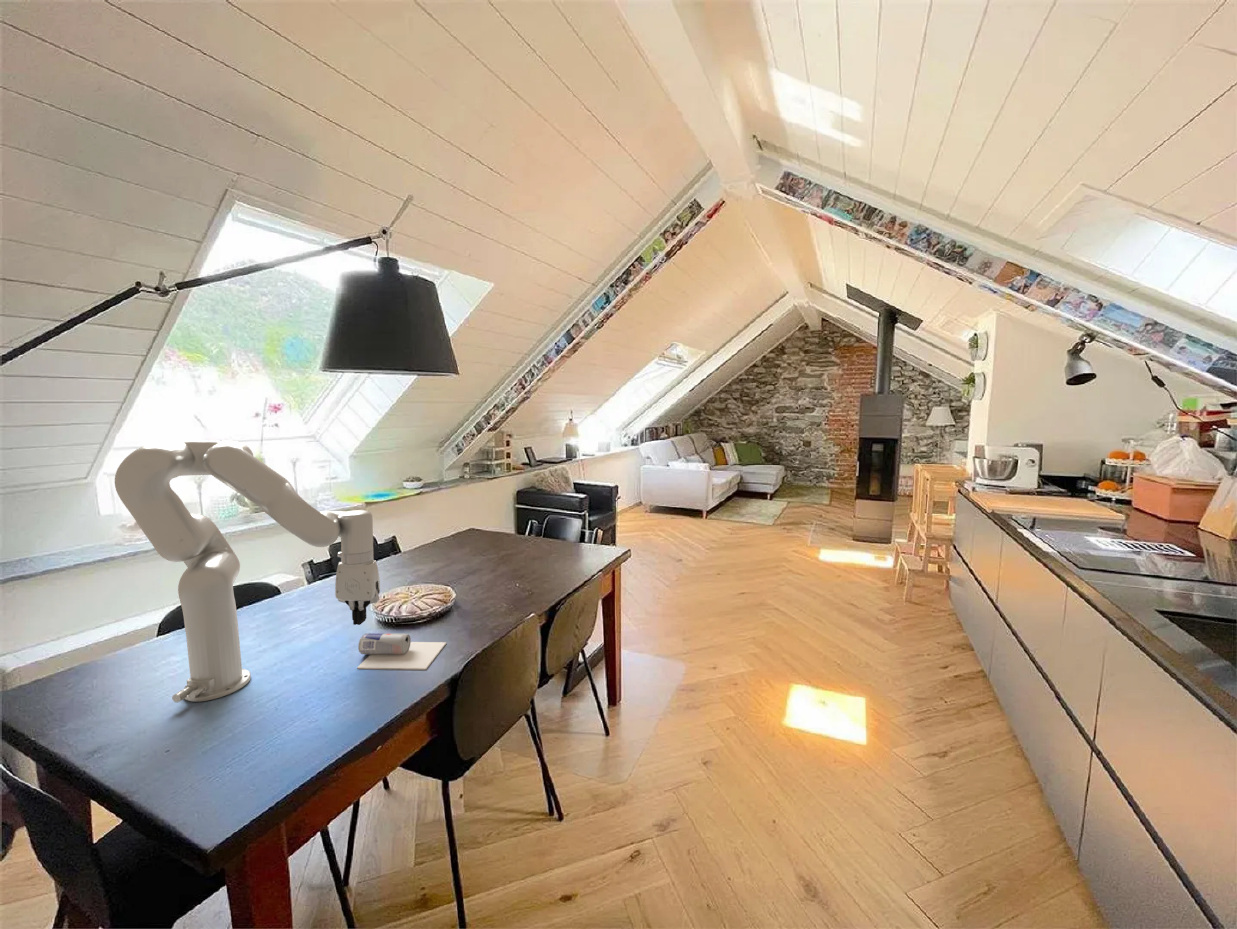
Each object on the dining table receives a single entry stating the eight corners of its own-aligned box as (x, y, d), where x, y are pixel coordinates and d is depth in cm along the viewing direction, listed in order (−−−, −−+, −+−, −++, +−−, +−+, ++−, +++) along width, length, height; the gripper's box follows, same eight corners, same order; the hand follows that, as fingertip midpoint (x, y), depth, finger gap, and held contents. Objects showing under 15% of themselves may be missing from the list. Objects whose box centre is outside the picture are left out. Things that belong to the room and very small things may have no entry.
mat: (425, 669, 124) (425, 668, 124) (357, 668, 125) (357, 667, 125) (446, 643, 138) (446, 642, 138) (384, 642, 139) (384, 641, 139)
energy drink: (370, 637, 136) (412, 637, 136) (363, 657, 132) (407, 657, 132) (362, 630, 131) (406, 630, 131) (355, 650, 128) (400, 650, 128)
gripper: (321, 560, 125) (323, 627, 127) (378, 562, 125) (379, 629, 126) (338, 552, 132) (340, 616, 134) (392, 553, 132) (393, 618, 134)
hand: (359, 622), depth 130 cm, fingers closed
